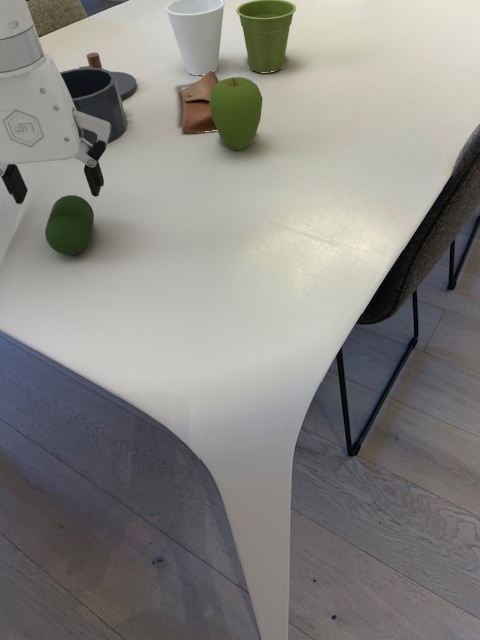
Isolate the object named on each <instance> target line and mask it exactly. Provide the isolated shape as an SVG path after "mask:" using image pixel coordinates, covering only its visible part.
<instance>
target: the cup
mask: <svg viewBox="0 0 480 640" xmlns="http://www.w3.org/2000/svg"><path fill="white" fill-rule="evenodd" d="M224 8H225V1H224V0H173V1H170V2H169V3H167V4H166V6H165V9H164V10H165V12H166V13H167V17H168V21H169V22H170V25H171V29H172V31H173V34H174V37H175V41H176V44H177V46H178V49H179V52H180V53H179V54H180V56H181V58H182V62H183V64H184V65H183V66H184V68H185V71H186V73H187V74H188V73H189V74H188V75H190V74H193V75H203V74H207V73H208V72H209V71H211V72H213V71H215V70H216V69H217V68H218V69H219V60H220V50H221V49H220V48H221V39H222V29H223V18H224V17H223V16H224ZM218 69H217V70H218ZM193 75H192V76H193Z"/></svg>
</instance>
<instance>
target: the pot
mask: <svg viewBox="0 0 480 640" xmlns="http://www.w3.org/2000/svg"><path fill="white" fill-rule="evenodd" d="M59 72H60V74H61V76H62V78H63V80H64V82H65V84H66V87H67V89H68V91H69V93H70V96H71V98H72V100H73V103H74V105H75V108H76V110H77V111H79V112H82V113H85V114H88V115H90V116H93V117H96V118H99V119H102V120H104V121H107V122H109V123H110V124H111V130H110V134H109V138H108V142H107V144H109V143H111V142H113V141H115V140H117V139H119V138H120V137H121V136H122V135H123V134H124V133H125V131H126V130H127V126H128V124H127V122H128V121H127V116H126V113H125V108H124V104H123V100H122V98H121V95H120V91H119V87H118V83H117V79H116V76H115V75H114V74H113V73H112V72H113V71H110V70H108V69H105V68H103V67H102V68H92V66H89V65H87V66H79V67H78V68H73V69H68V70H63V71H59ZM83 133H84V136H83V138H84V139H85V140H87V141H88V142H89V143H91V144H92V145H93V144H94V143H95V142H96V140H97V134H96V133H95V132H92V131H89V130H86V129H83Z"/></svg>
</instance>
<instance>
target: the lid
mask: <svg viewBox="0 0 480 640" xmlns="http://www.w3.org/2000/svg"><path fill="white" fill-rule="evenodd" d="M86 59H87V63H88V66H92V68H102V69H103V65H102V61H101V58H100V54H99V52H90V53H87V54H86ZM111 72H112V73H113V74H114V75H115V76H116V79H117V83H118V87H119V91H120V95H121V99H123V98H125V97H127V96H128V95H130V94H132V93H133V92H134V91H135V90H136V87H137V80H136V78H135V77H134V75H132V74H130V73H127V72H122V71H111Z"/></svg>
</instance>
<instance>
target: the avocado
mask: <svg viewBox="0 0 480 640" xmlns="http://www.w3.org/2000/svg"><path fill="white" fill-rule="evenodd" d="M94 221H95V214H94V210H93V207H92V206H91V203H89V201H87V200H86V199H85V198H83V197H81V196H80V195H79V196H78V195H75V194H68V195H64V196H62V197H60V198H59V199H58V200H56V201H55V203H54V204H53V206H52V207H51V211H50V214H49V217H48V220H47V223H46V226H45V230H44V234H45V240H46V242H47V244H48V245H49V247H50V248H51V249H52V250H54V251H55V252H56V253H58V254H61V255H64V256H73V255H77V254H79V253H81V252H82V251H84V250H85V249H86V248H87V246H88V244H89V242H90V239H91V235H92V230H93V225H94Z"/></svg>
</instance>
